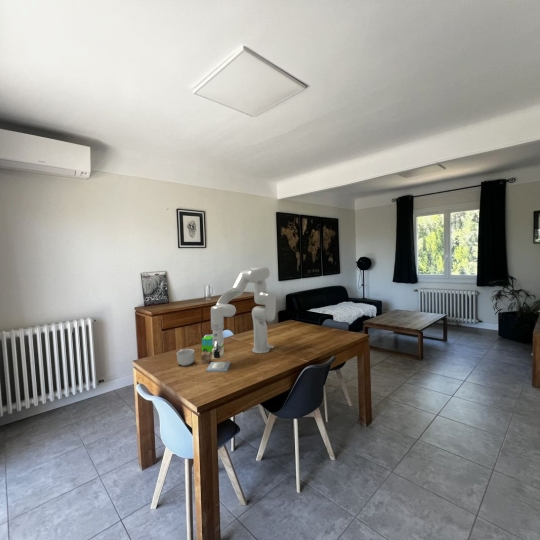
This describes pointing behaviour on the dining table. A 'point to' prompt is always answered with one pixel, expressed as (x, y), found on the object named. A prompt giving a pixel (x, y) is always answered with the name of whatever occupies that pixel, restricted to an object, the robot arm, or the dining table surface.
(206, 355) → the block top
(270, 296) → the robot arm
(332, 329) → the dining table surface
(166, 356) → the dining table surface
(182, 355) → the teacup
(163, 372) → the dining table surface
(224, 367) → the plate
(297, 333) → the dining table surface
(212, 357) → the block base
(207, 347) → the toy car
